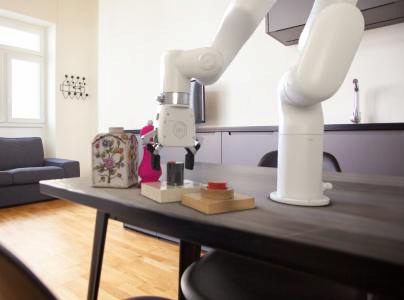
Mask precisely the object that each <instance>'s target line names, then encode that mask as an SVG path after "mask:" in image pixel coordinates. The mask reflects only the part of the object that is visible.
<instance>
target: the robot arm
mask: <svg viewBox="0 0 404 300" xmlns="http://www.w3.org/2000/svg"><path fill="white" fill-rule="evenodd" d="M277 1H278V0H232V1H231V2H230V4H229V5H228V6H227V9H226V10H225V12H224V14H223V17H222V20H221V23H220V25H219V28H218V29H217V31H216V34H215V36H214V37H213V39H212V41H211V42H210V44H209V45H208V46H203V47H198V48H192V49H185V50H183V49H170V50H166V51H164V52H163V53H162V55H161V57H160V58H161V59H160V89H159V91H160V94H159V95H156V96H155V102H158V103H159V106H157V108H156V113H155V118H154V123H153V126H154V130H153V131H151V132H149V133H147V134H145V135H143V136H142V138H141V140H142V142H143V143H144V144H145V147H146V149H147V150H148V151H149V153H150V154H151V167H152V170H154V171H160V165H161V154H159V153H160V152H161V151H162V149H163V148H164V147H165V148H183V149H184V150H185V152H186V153H185V156H184V170H189V171H194V168H195V155H197V153H198V151H199V150H200V149H201V146H202V144H203V143H204V137H203V136H202V135H200V134H199V133H197V132H196V131H197V129H196V118H195V111H194V108H193V107H191V90H192V89H191V88H192V79H194V80H195V81H196V83H197V84H199V85H201V86H212V85H214V84H216V82H218V81H219V80H220V78H221V77H222V76H223V74H224V73H225V72H226V70H227V68H229V66H230V65H231V63H232V62H233V61H234V60H235V58H236V57H237V55H238V54H239V52H240V51H241V50H242V48H243V47H244V45H246V43H247V42H248V40H249V39H251V37H252V36H253V34H254V33H255V31H256V30H257V28H258V27H259V26H260V25H261V23H262V21H263V20H264V19H265V17H266V16H267V14H268V13H269V12H270V10H272V8H273V6H274V5H275V3H276V2H277ZM358 1H359V0H314V2H313V5H312V9H311V11H310V13H309V15H308V18H307V20H306V23H305V25H304V27H303V29H302V31H301V33H300V36H299V38H298V44H297V49H298V50H297V51H298V53H299V58H298V61H297V63H296V64H295V65H294V66H293V67H291V68H290V69H288V70H287V71H286V72H285V73H284V74H283V76H281V78H280V80H279V82H278V85H277V88H276V89H277V90H276V100H277V111H278V137H277V138H278V139H277V175H276V182H277V183H276V191H272V192H270V193H269V198H270V199H271V200H272V201H275V202H278V203H281V204H288V205H292V206H303V207H304V206H305V207H320V206H327V205H329V204H330V198H329V196H327V195H325V194H324V192H327V191H332V189H333V184H332V183H331V182H324V181H323V167H324V165H323V164H324V163H323V162H324V136H325V135H324V134H325V118H324V112H323V106H322V102H324V101H327V100H329V99H331V98H333V96H334V95H336V93H338V91H339V90H340V89H341V87H342V85H343V83H344V81H345V79H346V77H347V75H348V73H349V70H350V68H351V66H352V63H353V61H354V58H355V57H356V54H357V51H358V50H359V46H360V44H361V42H362V39H363V37H364V33H365V18H364V16H363V13H362V12H361V10H360V8H358V7H357V3H358ZM152 137H153V141H154V145H152V144H151V143H150V138H152Z"/></svg>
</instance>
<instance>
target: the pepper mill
mask: <svg viewBox="0 0 404 300" xmlns="http://www.w3.org/2000/svg"><path fill="white" fill-rule="evenodd" d="M146 124H147V125H145V126H143V127H142V128H141V129H140V132H139V137H140V139H142V136H143V135H145V134H147V133H149V132H151V131H153V130H154V121H153V120H152V119H148V120H147V122H146ZM150 143H151V144H152V145H154V141H153V137H152V138H150ZM141 147H142V148H143V149H142V150H143V155H142V159H141V161H140V163H139V169H138V175H139V178H140V180H139V187H140V188H141V183H150V182H161V180H160V178H161V177H162V176H163V169H162V165H161V164H160V171H154V170H152V167H151V154H150V153H149V151H148V150H147V149H146V147H145V144H144V143H143V141H142V142H141Z"/></svg>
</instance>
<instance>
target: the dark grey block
mask: <svg viewBox="0 0 404 300" xmlns="http://www.w3.org/2000/svg"><path fill="white" fill-rule="evenodd" d="M184 180H185V161H184V162H183V161H176V160H175V161H174V160H171V161H167V162H166V181H167V185H173V186H179V185H184Z"/></svg>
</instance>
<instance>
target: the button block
mask: <svg viewBox="0 0 404 300" xmlns="http://www.w3.org/2000/svg"><path fill="white" fill-rule="evenodd" d="M181 204H182V205H184V206H187V207H189V208H191V209H194V210H197V211H199V212H201V213H204V214H206V215H213V214H219V213H227V212H234V211H241V210H242V211H243V210H250V209H255V197H253V196H249V195H246V194H242V193H237V192H235V188H234V187H232V186H229V185H227V189H224V190H215V189H208V184H206V186H202V187H201V192H199V193H188V194H182V201H181Z"/></svg>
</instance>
